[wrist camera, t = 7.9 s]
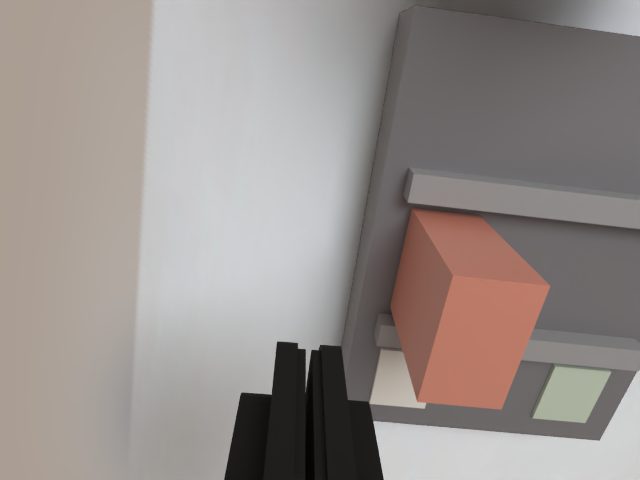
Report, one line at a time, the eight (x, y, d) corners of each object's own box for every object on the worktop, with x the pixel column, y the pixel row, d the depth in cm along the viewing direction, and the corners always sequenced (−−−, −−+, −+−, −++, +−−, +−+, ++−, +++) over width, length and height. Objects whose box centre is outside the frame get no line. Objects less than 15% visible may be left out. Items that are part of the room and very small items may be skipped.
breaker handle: (479, 215, 18) (550, 285, 13) (451, 312, 20) (501, 409, 15) (411, 208, 18) (453, 275, 12) (390, 306, 20) (417, 401, 14)
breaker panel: (733, 59, 18) (837, 60, 15) (570, 400, 26) (610, 455, 23) (399, 13, 18) (421, 1, 14) (335, 378, 26) (338, 432, 22)
